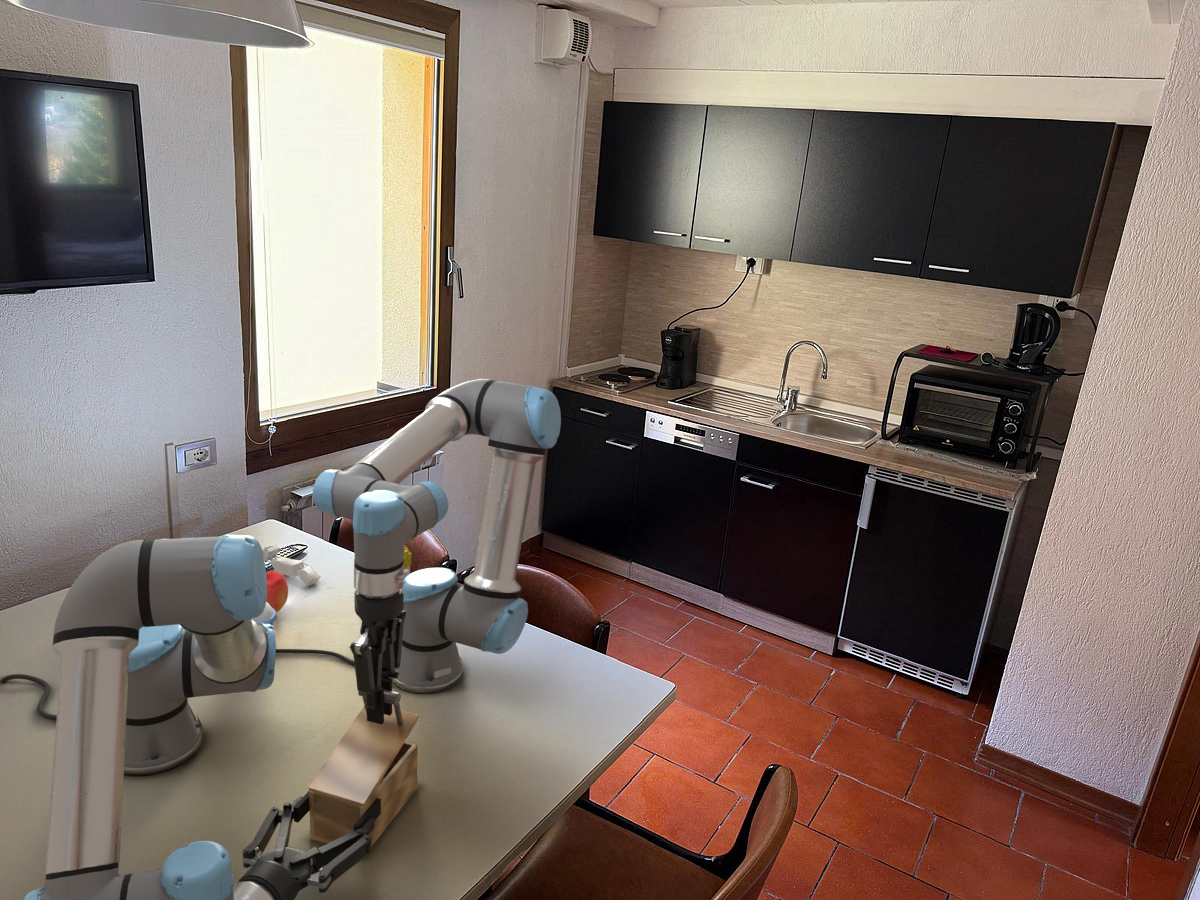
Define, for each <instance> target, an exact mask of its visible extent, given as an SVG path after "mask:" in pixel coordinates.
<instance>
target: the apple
mask: <svg viewBox="0 0 1200 900" xmlns="http://www.w3.org/2000/svg"><path fill="white" fill-rule="evenodd" d="M266 577H267V598H266V602H267V603H268V604H269V605H270V606H271V607H272V608H273V609H274V610H275V611H276V614H278V613H279V612H280V611H281V610H282V609H283V607H284V606H285V605H286V603H287V600H288V597H289V584H288V581H287V579H286V577H285V575H282V574H281V573H278V572H275V571H268V570H267V571H266Z"/></svg>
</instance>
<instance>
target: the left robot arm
mask: <svg viewBox="0 0 1200 900" xmlns="http://www.w3.org/2000/svg"><path fill="white" fill-rule="evenodd" d="M262 550H263V548H262V545H261V543H260V542H259V540H258V539H257V538H255V537H254V536H252V535H246V534H241V535H239V534H234V533H227V534H223V535H222V536H221V535H220V536H203V537H202V536H201V537H181V538H161V539H160V538H159V539H134V540H129V541H125V542H121V543H119V544H116V545H114V546H113V547H111V548H109V549H107V550H106V551H104V552H103V553H101V554H99V555H98V556H97V557H96V558H94V559H93V560H92V561H91V562H90V563H89V564H88V565H87V566H86V567H85V568H83V570H82V571H81V572H80V574H79V575H78V576H77V578H76V579H75V580H74V581H73V583H72V585H71V586H70V587H69V589H68V591H67V593H66V595H65V596H64V599H63V601H62V602H61V605H60V606H59V610H58V612H57V616H56V618H55V623H54V627H53V637H52V651H53V652H55V653H56V654H57V655H58V656H59V657H60V667H59V668H60V669H59V682H58V693H57V694H58V695H57V708H56V709H57V711H56V714H52V713H49V712H47V711H46V710H44V705H45V704H46V701H47V699H48V697H49V696H50V693H51V686H50V684H49V683H48V682H47V681H45V680H44V679H43V678H39V677H37V676H33V675H29V674H23V673H13V674H8V675H6V676H4V677H2V678H1V679H0V683H1V684H4V683H6V682H7V681H11V680H25V681H30V682H33V683H36V684H38V685H40V686H41V687H43V689H44V692H43V694H42V696H41V698H40V700H39V701H38V704H37V707H36V708H37V709H36V710H37V713H38V715H39V716H41V717H42V718H44V719H47V720H52V721H55V722H56V723H55V734H54V735H55V737H54V747H53V748H54V749H53V765H52V777H51V789H50V804H49V814H48V815H49V816H48V829H47V843H46V858H45V869H44V870H45V872H44V874H45V877H44V878H45V879H44V884H43V886H41V887H40V888H38V889H34V890H31V891H29V892H28V893H27V894H26V895H25V896H24V898H23V899H22V900H295V899H296V898H297V896H298V894H299V893H300V891H302V890H303V889H306V888H307V887H309V886H312V887H317V888H318V892H319V893H320V894H325V893H327V892H328V890H329V889H330V887H331V886H332V884H333V883H334V882H335V881H336V880H337V879H339V878H340V877H341V876H343V875H344V874H345V873H346V872H348V871H349V870H350V869H352V868H353V867H354V866H356V865H357V864H358V863H359V862H360V861H362V860H363V859H364V858H366V857H367V856H368V855H369V854H371V853H372V847H371V836H370V835H369V834H370V833H371V832H372V831H373V829H374V827H375V820H376V819H377V818H378V816H379V815H380V814H381V799H379V798H376V800H375V801H374V802H373V803H372V804H371V806H370V807H369V808H368V809H367V810H366V812H365V813H364V814H363V815H362V816H361V817H360V818H359V820H358V821H357V822H356V823H355V824H354V831H352V832H350V833H348V834H346V835H344V836H342V837H340V838H338V839H336V840H334V841H332V842H330V843H328V844H324V845H322V846H320V847H316V846H314V847H312V848H310V849H308V850H305V849H298V848H297V847H295V846H293V845H289V843H290V837H291V831H292V826H293V822H294V823H299V822H301V820H302V819H304V817H305V816H306V815H307V814H308V813H310V809H309V790H308V791H307V792H306V793H305V794H304V795H303V796H302V795H300V796H298V797H297V798H296V799H295V800H293V802H292V803H290V802H285V803H284V804H283V805H282V809H280V808H279V806H273V807H271V808H270V810H269V811H268V813H267V815H266V817H265V819H264V820H263V822H262V823H261V826H260V827H259V829H258V830H257V833H256V834H255V836H254V837H253V840H252V841H251V842H250V843H249V844H248V845H247V846H246V847H245V848H244V849H243V850H242V852H241V853H242V866H243V868H245V869H248V870H247V871H246V872H245V873H244V874H243V875H242V876H241V877H240V878H239V879H238V881H237V882H236V883H235V881H234V875H233V874H232V873H233V872H232V866H231V865H232V864H231V858H230V854H229V852H228V850H227V849H226V847H224V846H223V845H222V844H220V843H218V842H215V841H212V840H195V841H192V842H189V843H188V844H187V845H186V846H184V847H178V848H176V849H175V850H173V851H172V852H171V853H170V854H169V855H168V856H167V858H166V859H165V860H164V863H163V865H162V868H159V869H151V870H146V871H140V872H134V873H133V872H132V873H128V874H120V859H121V840H122V839H121V838H122V820H123V819H122V817H123V800H124V799H123V796H124V776H125V775H130V776H144V775H145V776H146V775H152V774H157V773H161V772H164V771H169V770H171V769H173V768H175V767H177V766H180V765H181V764H183V763H185V762H186V761H188V760H189V759H190V758H191V757H193V756H194V755H195V754H196V752H197V751H198V750H199V748H200V747H201V744H202V741H203V738H202V737H203V736H202V732H204V731H203V724H202V722H201V720H200V718H199V715H195V713H194V711H193V710H192V707H191V706H190V703H189V700H188V699H189V698H198V697H199V698H200V697H207V696H208V697H209V696H218V695H228V694H237V693H250V692H251V693H255V692H257V691H260V690H261V691H262V690H266V689H268V688H270V687H271V686H272V685H273V682H274V679H275V672H276V671H275V668H276V655H277V653H276V649H277V645H276V642H277V641H276V632H275V626H274V627H273V626H272V625H271V624H264V623H256V622H254V621H253V620H252V618H256V617H258V616H260V615H261V614H262V613H263V611H264V608H265V605H266V598H267V577H266V572H267V569H266V568H267V567H266V565H265V563H264V555H263V551H262ZM196 716H197V717H196ZM279 825H280V826H279ZM278 826H279V829H278V830H279V831H278V836H277V839H276V844H275V849H274V850H273V851H271V852H268V853H265V854H263V853H264V852H265V850H266V848H267V846H268V844H269V843H270V840H271V839H272V837H273V835H274V833H275V831H276V830H277V828H278Z"/></svg>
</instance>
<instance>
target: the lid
mask: <svg viewBox="0 0 1200 900" xmlns="http://www.w3.org/2000/svg"><path fill="white" fill-rule="evenodd" d="M357 693H358V694H357V695H358V696H360V697H362V701H363V707H362V709H361V710H360V711H359V713H358V714H357V716H356V718H355V719H354V720H353V722H352V723H351V725H350V726H349V728H348V729H347V731H346V732H345V733H344V735H343V737H341V739H340V741H339V742H338V743H337V744H336V746H335V748H334V749H333V751H332V752H331V754H330V755H329V757H328V758H327V760H326V761H325V763H323V765H322V767H321V768H320V770H319V771H318V772H317V774H316V775H315V777H314V778H313V780H312V782H311V783H310V784H309V786H308V787H307V788H308V791H312V792H315V793H319V794H322V795H325V796H329V797H332V798H335V799H339V800H342V801H345V802H349V803H352V804H355V805H359V806H362V807H365V806H366V804H367V803H368V801H369V799H370V798H371V796H372V794H373V793H374V791H375V790H376V788H377V786H378V785H379V783H380V781H381V780H382V778H383V776H384V775H385V773H386V772H387V770H388V768H389V767H390V765H391V763H392V762H393V760H394V758H395V757H396V755H397V753H398V752H399V750H400V749H401V747H402V745H403V744H404V742H405V741H407V739H408V738H409V735H410V734H411V732H412V730H413V729H414V727H415V725H416V724H417V723H418V721H419V719H420V715H419V713H414V712H410V711H406V710H403V709H401V705H400V702H401V698H402V694H401V693H400V692H397V691H393V690H392V691H389V690H385V689H384V702H386V703H390V704H392V705H393V707H392V714H391V715H390V716H389V715H385V714H384V723H383V724H382V725H381V724H377V723H374V722H370V721H367V694H366V693H364V692H360V691H358V690H357Z"/></svg>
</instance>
